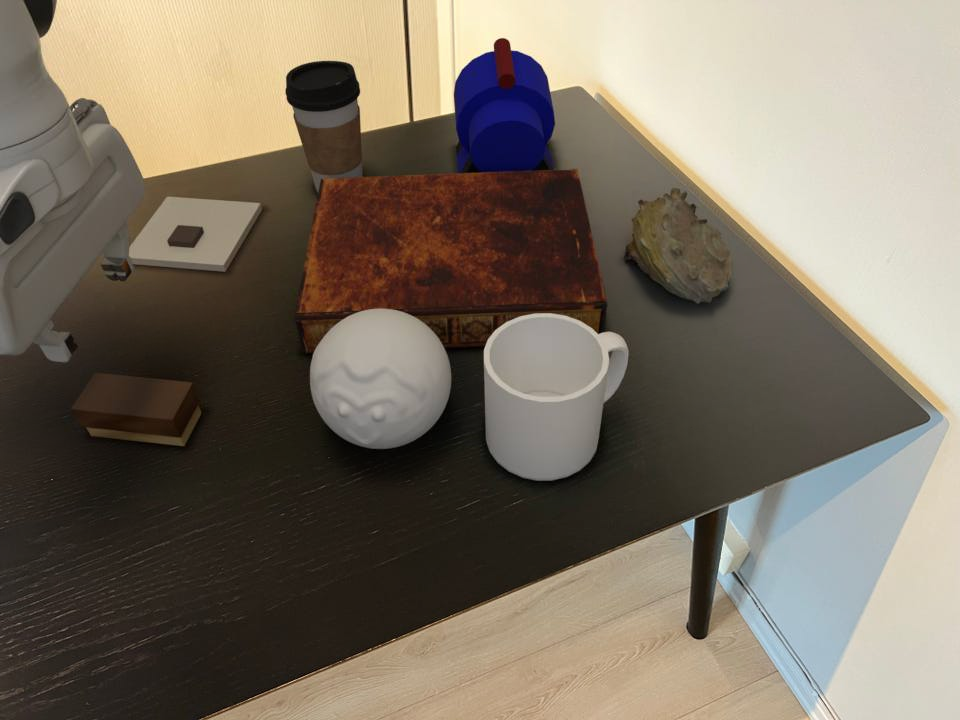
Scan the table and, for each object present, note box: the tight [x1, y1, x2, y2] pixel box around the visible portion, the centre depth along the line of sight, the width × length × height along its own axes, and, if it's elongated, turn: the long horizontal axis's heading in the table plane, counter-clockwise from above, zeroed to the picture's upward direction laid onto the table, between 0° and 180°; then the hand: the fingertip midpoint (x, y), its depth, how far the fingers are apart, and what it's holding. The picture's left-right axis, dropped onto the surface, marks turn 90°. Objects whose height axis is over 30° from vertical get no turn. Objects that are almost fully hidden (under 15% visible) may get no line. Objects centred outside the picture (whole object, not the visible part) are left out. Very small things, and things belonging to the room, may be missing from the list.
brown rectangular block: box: [70, 372, 202, 447], centre depth 71 cm, size 9×4×4 cm, turn 81°
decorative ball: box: [309, 309, 452, 450], centre depth 68 cm, size 12×12×12 cm
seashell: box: [623, 187, 733, 305], centre depth 83 cm, size 11×14×10 cm
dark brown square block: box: [167, 225, 204, 248], centre depth 90 cm, size 3×3×1 cm
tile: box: [129, 196, 263, 273], centre depth 92 cm, size 12×12×1 cm
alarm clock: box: [453, 37, 556, 173], centre depth 97 cm, size 12×12×15 cm
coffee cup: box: [285, 60, 364, 194], centre depth 94 cm, size 8×8×15 cm
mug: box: [483, 313, 630, 482], centre depth 67 cm, size 13×10×10 cm
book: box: [293, 168, 608, 355], centre depth 85 cm, size 30×24×5 cm
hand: (94, 313), depth 63 cm, fingers open, 8 cm apart
